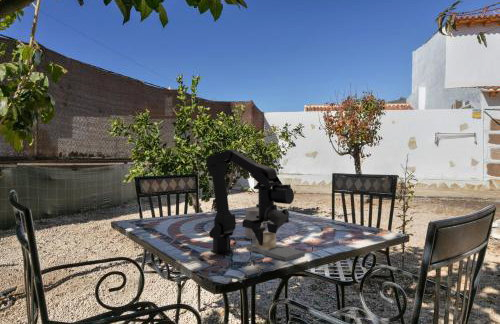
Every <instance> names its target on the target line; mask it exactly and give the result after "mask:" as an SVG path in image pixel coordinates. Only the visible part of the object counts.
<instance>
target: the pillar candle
mask: <svg viewBox="0 0 500 324" xmlns="http://www.w3.org/2000/svg"><path fill="white" fill-rule="evenodd" d="M244 211H245V213H244V215H245V217H244V219H248V218H254V219H258V218H256V215H259V214H258V207H256V205H255V206H253V207H252V206H251V207H247V208H245V210H244ZM263 227H264V228H265V230H264V231H267V223H266V224H263ZM264 231H263V232H264ZM252 234H254V232H253V230H252V229H250V228H246V227H245V239H247V240H251V239H252Z"/></svg>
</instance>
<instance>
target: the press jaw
mask: <svg viewBox="0 0 500 324" xmlns="http://www.w3.org/2000/svg"><path fill="white" fill-rule="evenodd" d="M266 231H267V232H268V230H266ZM266 231H264V232H266ZM251 245H252V246H254V247H257V238H256V236H255V234H252V240H251Z"/></svg>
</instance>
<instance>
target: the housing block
mask: <svg viewBox="0 0 500 324" xmlns="http://www.w3.org/2000/svg"><path fill="white" fill-rule="evenodd" d="M267 231H268V230H266V232H263V245H262V246H261V245H259V242H258V240H257V247H259V248H262V249H266V250H267V249H269V250H272V249H271V248H275V247H276V244H277V233H276V234H275V233H271V232H267Z"/></svg>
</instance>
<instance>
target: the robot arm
mask: <svg viewBox="0 0 500 324" xmlns="http://www.w3.org/2000/svg"><path fill="white" fill-rule="evenodd" d="M231 163H233V164H235V165H237V167H240V168H242V169H243V170H245V171H246V172H248V173H249V174H250V175H251V177H252V178H253V179H254V180H255V182H257V183H256V185H254V186H253V189H254V190H258V193H257V194H258V195H257V199H258V201H257V202H258V203H257V204H255V206H256V207H258V214H259V215H256V218H258V219H254V218H248V219H245V218H244V219H242V225H241V226H242V227H243V228H245V229H246V228H250V229H252V230H253V232H254V234H255V236H256V238H257V240H258V242H259V245H261V246H262V245H263V231H264V230H265V228H264V227H263V224H266V228H267V231H268V232H271V233H275V234H276V235H277V233H278V232H277V231H278V230H279V228H280V227H282V226H283V225H285V224H287V223H290V218H289V217H290V211H289V210H288V209H280V210H278V205H277V204H283V205H291V204H292V203H293V201H294V199H295V193H294V190H293V188H292V187H291V184H283V183H282V181H281V180H280V178H279V176H278V175H277V171H276V169H275V168H273V167H272V166H269V165H264V164H260V163H257V162H256V161H255V160H253V159H251V158H249V157H248V156H246V155H244V154H242V153H240V152H239V151H238V150H237V149H226V150H224V151H221V152H218V153H216V154H210V155H208V156H207V158H206V159H205V164H206V168H207V172H208V173H209V174H210V176H211V177H212V184H213V191H214V198H215V199H214V201H215V207H216V214H215V217H214V219H213V220H214V221H213V227H212V228H211V229H210V231H209V232H208V234H209V238H210V239H211V238H212V249H210V252H212V253H214V254H215V253H216V254H218V255H223V254H227V253H232V252H233V250H232V249H231V236H233V235H234V231H235V229H236V225H237V221H236V214H235V213H233V214H232V213H231V211H230V209H229V208H230V207H229V206H230V205H229V200H228V190H227V185H226V173H227V170H228V165H229V164H231Z"/></svg>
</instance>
